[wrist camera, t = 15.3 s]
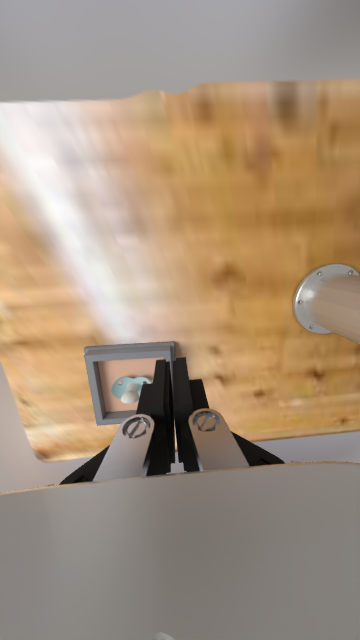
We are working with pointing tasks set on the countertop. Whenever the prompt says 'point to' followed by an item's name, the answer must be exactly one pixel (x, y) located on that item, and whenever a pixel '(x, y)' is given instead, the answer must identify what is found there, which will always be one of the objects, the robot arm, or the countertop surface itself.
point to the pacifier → (128, 388)
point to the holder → (121, 374)
